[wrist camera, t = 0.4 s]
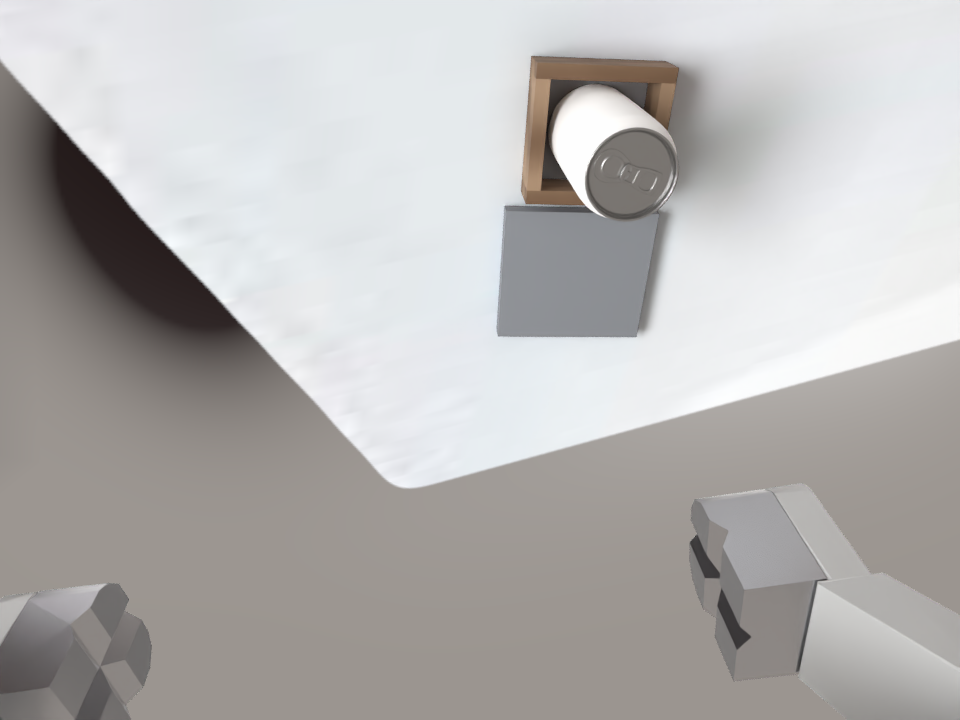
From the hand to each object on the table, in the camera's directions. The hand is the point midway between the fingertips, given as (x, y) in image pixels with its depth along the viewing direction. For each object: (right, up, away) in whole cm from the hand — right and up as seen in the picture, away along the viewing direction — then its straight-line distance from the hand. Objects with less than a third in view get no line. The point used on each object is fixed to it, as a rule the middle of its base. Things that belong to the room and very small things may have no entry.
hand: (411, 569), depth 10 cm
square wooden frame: (+9, +20, +41) cm, 46 cm away
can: (+9, +20, +41) cm, 46 cm away
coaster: (+9, +10, +47) cm, 48 cm away
